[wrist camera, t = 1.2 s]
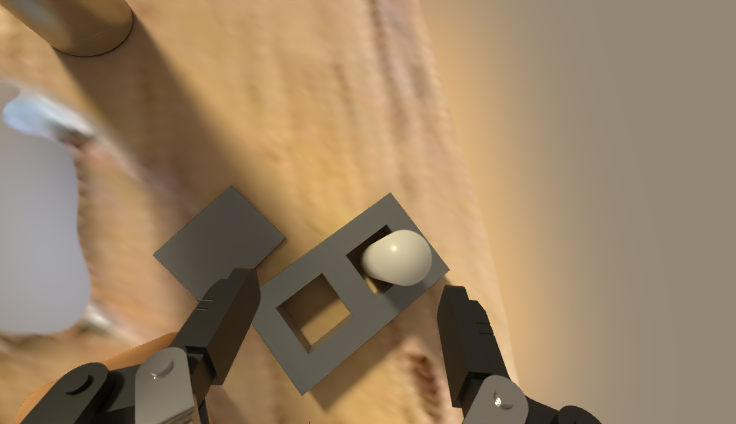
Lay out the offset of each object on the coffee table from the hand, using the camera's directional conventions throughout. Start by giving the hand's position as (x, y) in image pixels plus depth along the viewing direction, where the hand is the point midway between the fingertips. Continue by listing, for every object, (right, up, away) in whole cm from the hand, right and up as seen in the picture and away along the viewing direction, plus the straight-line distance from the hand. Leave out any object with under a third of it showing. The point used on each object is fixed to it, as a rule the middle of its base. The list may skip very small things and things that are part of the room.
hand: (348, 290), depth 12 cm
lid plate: (-14, 0, +18) cm, 23 cm away
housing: (-1, -4, +18) cm, 19 cm away
